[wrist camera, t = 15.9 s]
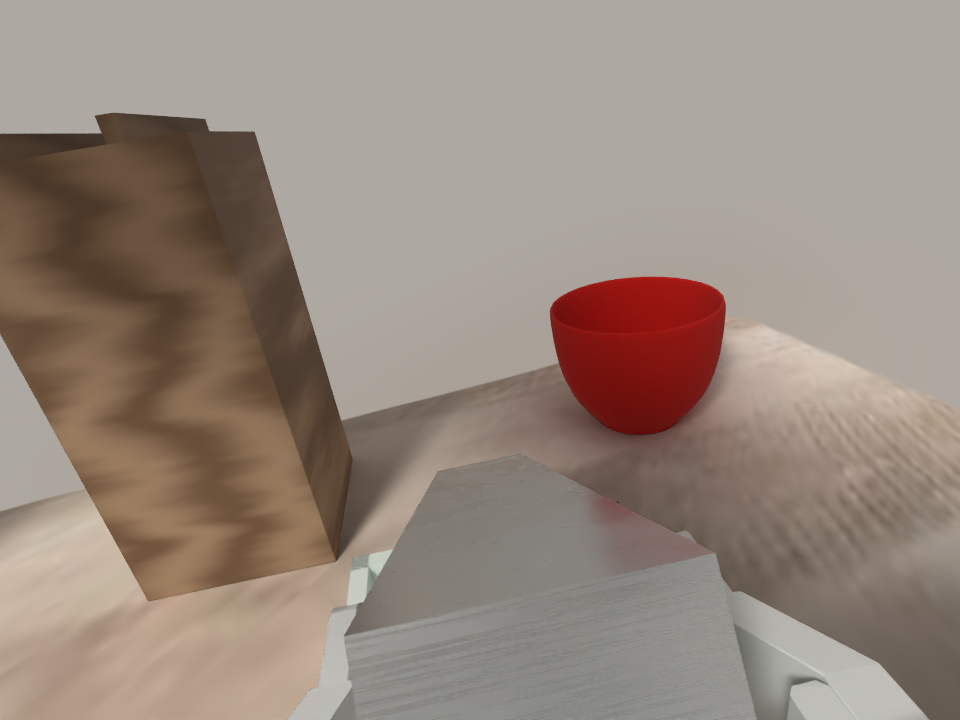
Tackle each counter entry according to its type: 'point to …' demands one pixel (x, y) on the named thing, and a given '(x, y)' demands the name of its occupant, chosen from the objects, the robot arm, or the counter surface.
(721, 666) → the block
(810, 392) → the counter surface
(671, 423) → the ceramic cup
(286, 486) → the ridged wooden post
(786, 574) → the counter surface
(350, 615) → the robot arm
